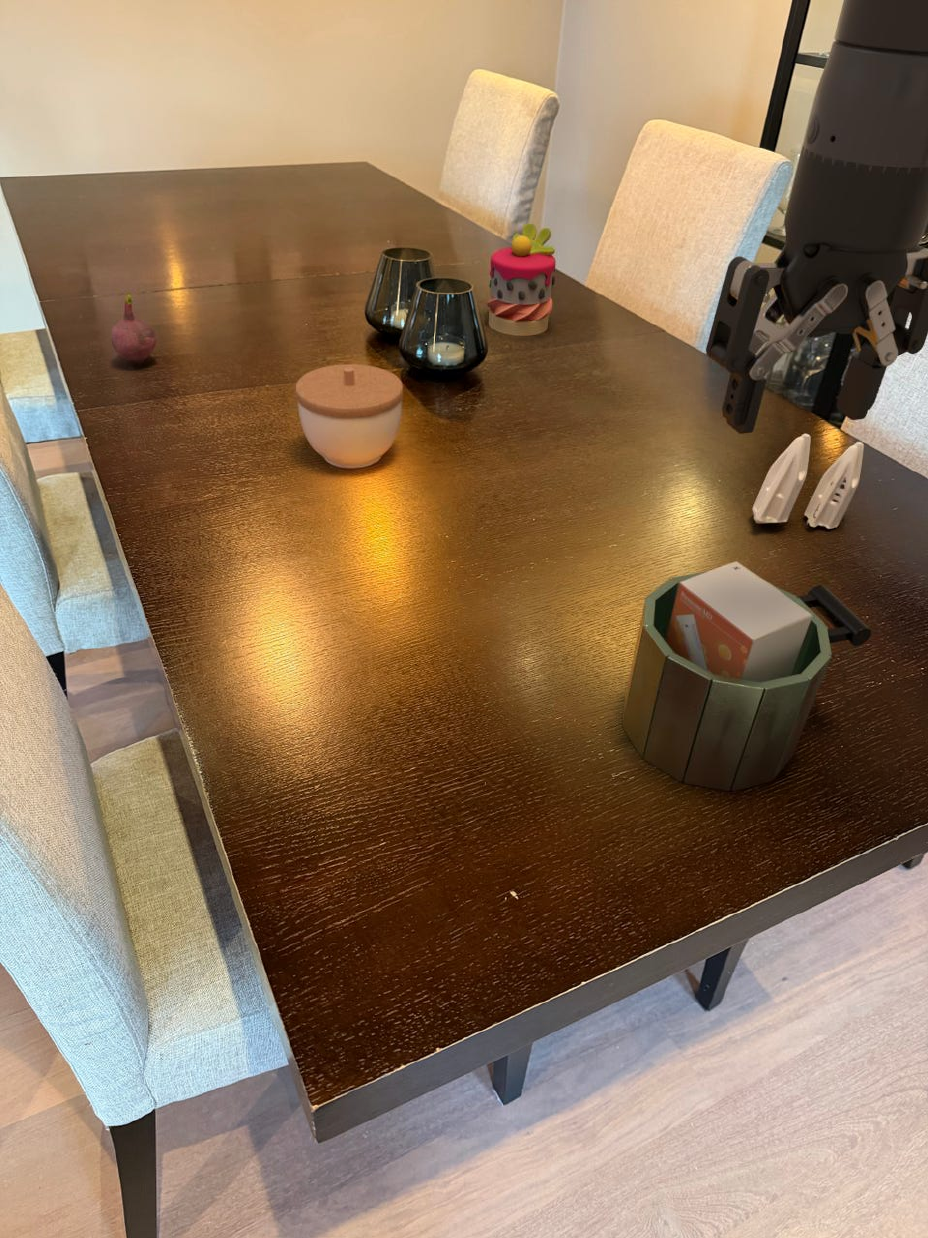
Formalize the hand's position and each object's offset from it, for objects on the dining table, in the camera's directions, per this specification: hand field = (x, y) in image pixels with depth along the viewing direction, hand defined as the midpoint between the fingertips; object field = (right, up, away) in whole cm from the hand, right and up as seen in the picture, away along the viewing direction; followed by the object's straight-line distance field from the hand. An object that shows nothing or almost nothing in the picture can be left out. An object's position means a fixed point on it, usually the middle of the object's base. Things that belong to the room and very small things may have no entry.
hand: (795, 421), depth 58 cm
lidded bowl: (-35, +7, +52) cm, 64 cm away
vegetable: (-69, +24, +71) cm, 102 cm away
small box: (-1, -22, +17) cm, 28 cm away
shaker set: (+16, -2, +44) cm, 47 cm away
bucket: (-8, -19, +12) cm, 24 cm away
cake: (-13, +35, +89) cm, 97 cm away
